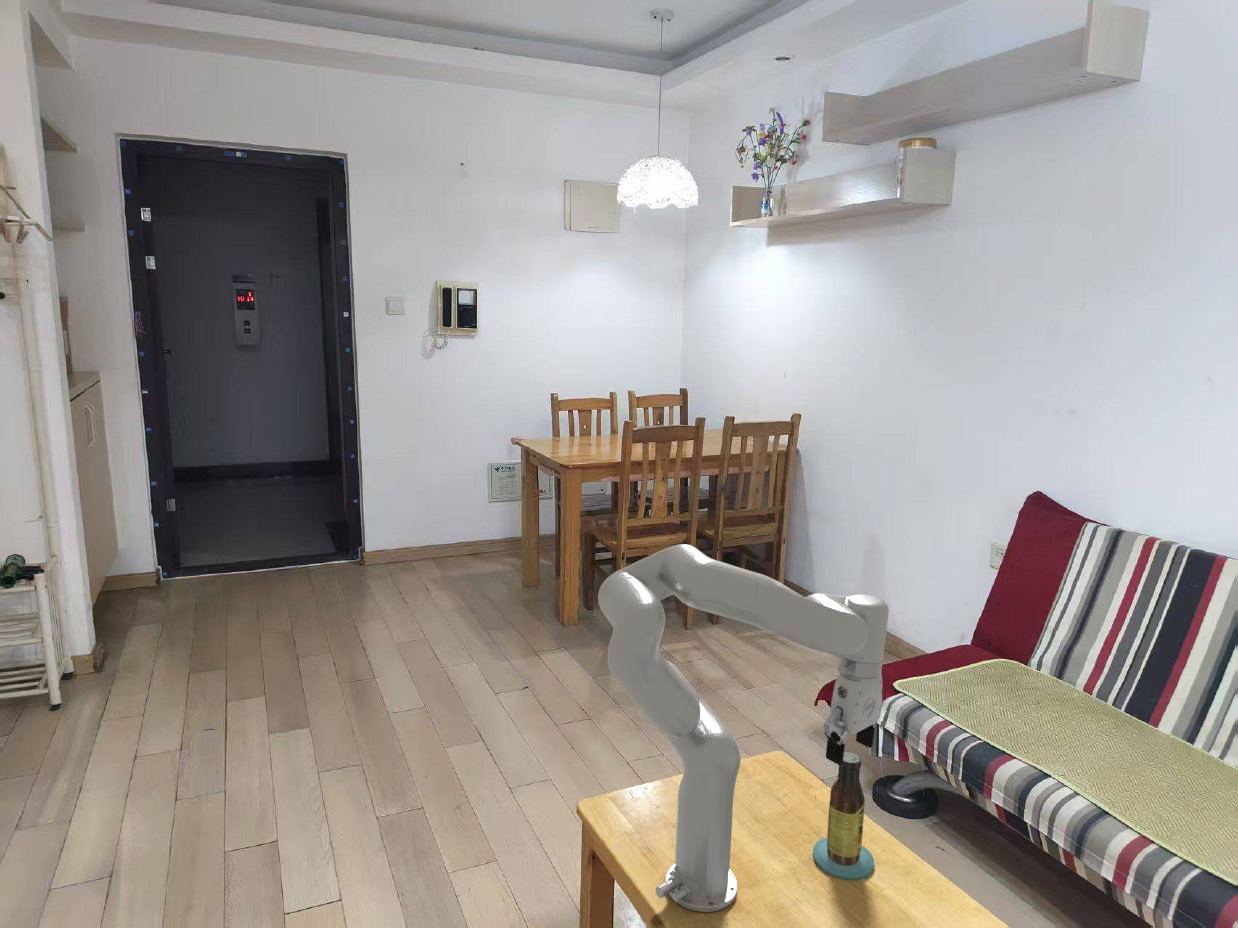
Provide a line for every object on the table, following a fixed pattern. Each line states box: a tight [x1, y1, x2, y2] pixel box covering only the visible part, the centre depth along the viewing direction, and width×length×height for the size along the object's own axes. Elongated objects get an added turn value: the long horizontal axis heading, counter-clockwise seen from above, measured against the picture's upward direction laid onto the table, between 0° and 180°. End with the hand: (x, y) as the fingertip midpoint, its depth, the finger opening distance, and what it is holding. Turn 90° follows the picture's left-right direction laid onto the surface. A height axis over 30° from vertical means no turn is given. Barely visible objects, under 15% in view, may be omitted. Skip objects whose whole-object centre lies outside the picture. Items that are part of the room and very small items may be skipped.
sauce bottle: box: [826, 751, 866, 865], centre depth 149 cm, size 7×6×20 cm
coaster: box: [812, 837, 875, 881], centre depth 151 cm, size 11×11×1 cm
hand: (849, 752), depth 147 cm, fingers open, 9 cm apart
